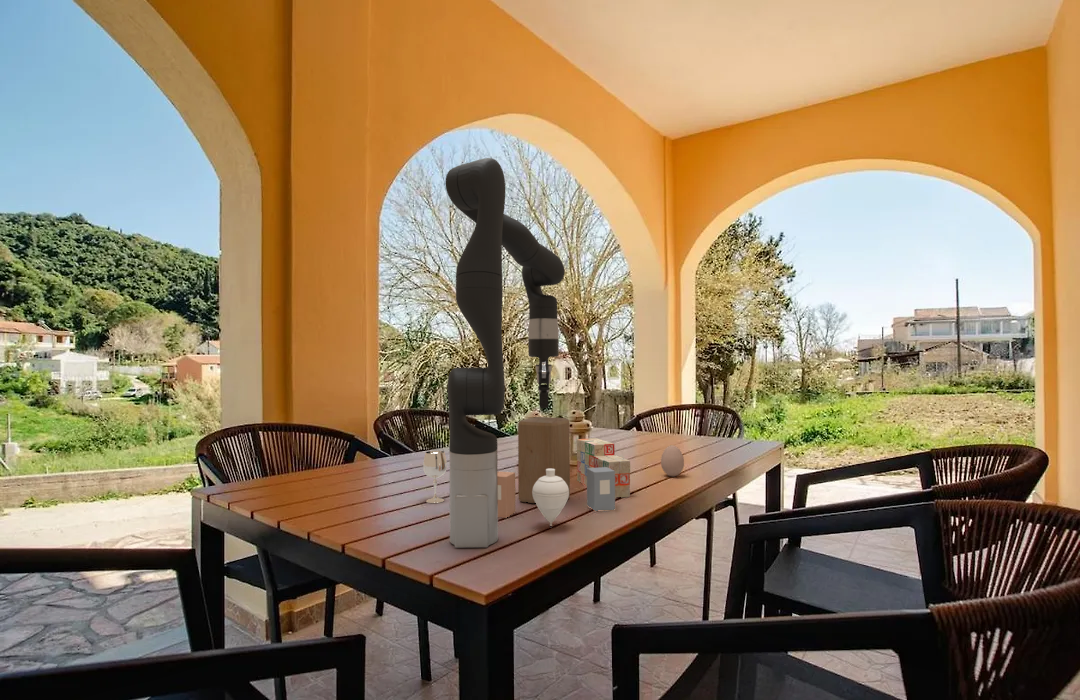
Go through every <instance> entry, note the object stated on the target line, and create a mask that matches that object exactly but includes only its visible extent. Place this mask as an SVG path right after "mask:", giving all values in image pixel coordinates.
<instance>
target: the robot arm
mask: <svg viewBox="0 0 1080 700" xmlns="http://www.w3.org/2000/svg"><path fill="white" fill-rule="evenodd" d="M445 190H446V192H447V193H446V194H447V196H448V197H449V200H450V201H451V202H452V204H453V205H454V206H455V207H456V208H457V210H459V211H460V212H461V213H462V214H464V215H465V216H467V217H468V218H469V219H470V220H472V221H473V222H474V223H475V227H474V229H473V231H472V234H471V236H470V238H469V240H468V242H467V244H466V245H465V248H464V249H463V251H462V253H461V255H460V257H459V260H458V263H457V266H456V270H455V271H456V273H455V301H456V305H457V306H458V309H459V310H460V312H461V313H462V315H463V317H464V319H465V320H466V322H467V323H468V325H469V326H470V328H471V329H472V330H473V332H474V334H475V335H476V337H477V339H478V341H479V343H480V345H481V347H482V349H483V351H484V354H485V357H486V360H487V367H455V368H454V367H453V369H451V371H450V372H449V374H448V378H447V400H448V417H449V420H448V421H449V422H448V423H449V444H448V445H449V467H448V468H449V470H448V471H449V542H450V543H451V544H452V545H453V546H454V548H456V549H457V548H488V547H490V546H491V545H492V544H495V543H496V542H497V541H498V540H499V517H498V479H497V471H498V438H497V436H496V435H495V434H494V433H493V432H492V433H491V432H488V431H485V430H483V429H480V428H478V427H476V426H474V425H473V424H471V423H470V422H469V421H468V419H467V416H495V415H497V416H498V415H500V414H501V413H502V411H503V410H504V407H505V399H506V397H505V395H506V394H505V393H506V391H505V390H506V389H505V371H504V354H503V332H502V329H503V328H502V327H503V295H504V294H503V293H504V292H503V258H502V257H503V248H504V249H505V250H506V252H507V253H508V254H509V255H510V256H511V258H512V259H513V260H514V261H515V262H516V264H518V265H519V266H521V267H522V269H521V278H522V281H523V285H524V289H525V292H526V296H527V301H528V306H529V307H528V311H529V312H528V314H529V315H528V319H529V321H528V328H527V329H528V330H527V331H528V332H527V333H528V334H527V338H528V340H527V341H528V344H527V345H528V347H527V348H528V350H527V351H528V353H527V354H528V357H529V358H538V364H535V372H536V383H537V384H538V387H537V388H538V393H539V395H538V396H539V399H538V400H539V408H540V409H548V408H549V393H550V384H551V383H552V378H551V377H552V376H551V375H552V374H551V372H552V370H553V369H552V368H553V366H552V364H549V358H556V357H558V356H560V355H559V353H560V351H559V349H560V348H559V347H560V346H559V342H560V341H559V339H560V337H559V333H560V332H559V323H558V322H559V321H558V299H557V298H556V297H555V296H554V295H551V294H550V295H549V294H544V293H543V291H542V287H547V286H548V287H549V286H555V285H558V284H560V283H561V282H562V281H563V280H564V278H565V273H566V272H565V265H564V263H563V261H562V259H561V258H560V257H559V256H558V255H557V254H555V253H554V252H553V251H551V250H550V249H548V248H547V247H545V246H544V245H543V244H540V243H539V241H538V239H536V237H535V235H534V234H533V233H532V232H531V231H530V229H529V228H528V227H527V226H526V225H524V224H523V223H522V222H520V221H519V220H517V219H516V218H513V217H511V216H509V215H507V214H505V205H506V204H505V203H506V179H505V173H504V171H503V169H502V166H501V164H500V163H499V161H498V160H496V159H495V158H493V157H485V158H480V159H476V160H474V161H469V162H466V163H463V164H459V165H457V166H454V167H452V168H451V169H449V171H448V172H447V174H446V177H445Z"/></svg>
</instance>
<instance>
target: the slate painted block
mask: <svg viewBox="0 0 1080 700" xmlns="http://www.w3.org/2000/svg"><path fill="white" fill-rule="evenodd" d="M587 505H588V506H589V507H591V508H592V509H593V510H595V511H598V510H614V509H615V510H616V498H615V471H614V470H612V469H610V468H607V467H600V468H587V487H586V506H587Z"/></svg>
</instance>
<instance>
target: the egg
mask: <svg viewBox="0 0 1080 700" xmlns="http://www.w3.org/2000/svg"><path fill="white" fill-rule="evenodd" d="M660 465H661V468H662V471H663V472H664V473H665V474H666V475H667V476H668V477H678V476H679V475H680V474H681V473H682V471H683V469H684V467H685V458H684V455H683V453H682V450H680V448H679V447H677V446H676V445H672V444H671V445H668V446H667V447H666V448H664V450H663V452H662V454H661V457H660Z"/></svg>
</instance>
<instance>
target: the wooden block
mask: <svg viewBox="0 0 1080 700" xmlns="http://www.w3.org/2000/svg"><path fill="white" fill-rule="evenodd" d="M517 423H518V424H517V439H518V440H517V443H518V444H517V446H518V447H517V448H518V451H517V452H518V453H517V455H518V458H517V459H518V460H517V464H518V465H517V466H518V467H517V470H518V471H517V472H518V476H517V477H518V501H520V502H522V503H526V502H528V503H527V504H534V503H535V501H534V499H533V495H532V489H533V486H534V484H535V483H536V481H537V480H538V479H539V478H541V477H543V476H546V469H549V468H552V469H555V476H558V477H561V478H562V479H563V480H564V481H565V482H566V484H567V486H568V488H569V497H568V499H569V498H570V495H571V465H570V464H571V463H570V460H571V459H570V456H571V454H570V450H571V449H570V446H571V445H570V440H571V439H570V433H571V431H570V419H568V418H567V417H551V416H550V417H547V416H535V417H529V418H525V419H524V418H523V419H521V420H519V421H518V422H517Z"/></svg>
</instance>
